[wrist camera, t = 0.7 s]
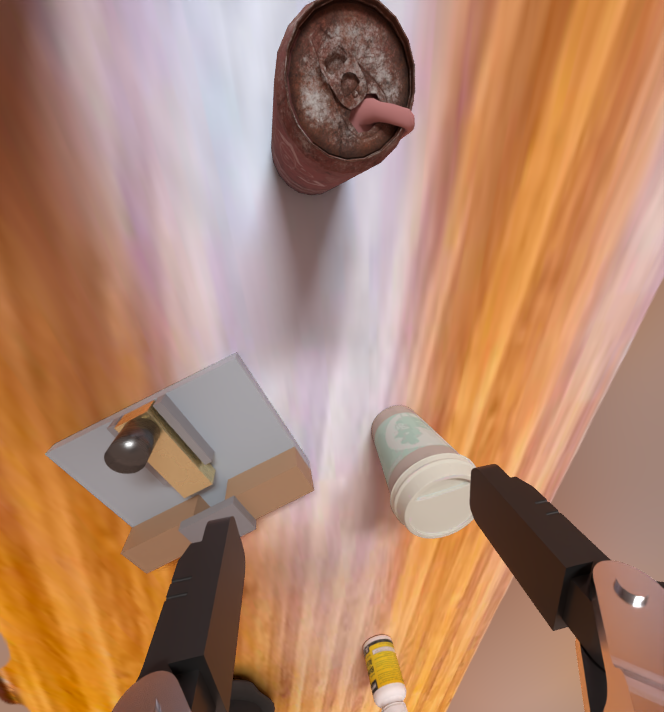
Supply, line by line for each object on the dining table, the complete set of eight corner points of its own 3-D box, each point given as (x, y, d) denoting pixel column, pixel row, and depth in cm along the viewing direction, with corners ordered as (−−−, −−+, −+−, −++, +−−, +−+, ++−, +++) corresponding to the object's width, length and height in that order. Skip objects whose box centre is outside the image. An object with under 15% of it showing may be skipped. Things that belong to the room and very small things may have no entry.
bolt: (123, 415, 29) (93, 455, 24) (154, 399, 29) (130, 436, 24) (188, 483, 33) (174, 529, 28) (215, 469, 33) (206, 513, 28)
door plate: (54, 443, 30) (13, 486, 26) (236, 352, 30) (230, 377, 25) (161, 536, 37) (144, 584, 32) (309, 462, 37) (316, 499, 32)
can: (340, 204, 27) (404, 187, 14) (266, 184, 25) (264, 146, 13) (357, 121, 25) (450, 17, 12) (277, 94, 23) (289, -59, 11)
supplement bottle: (361, 638, 55) (379, 718, 46) (391, 630, 55) (414, 707, 47) (362, 654, 57) (379, 734, 48) (390, 646, 58) (413, 723, 49)
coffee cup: (439, 403, 38) (508, 476, 27) (409, 459, 40) (461, 546, 29) (376, 387, 35) (425, 461, 24) (349, 448, 38) (382, 539, 27)
